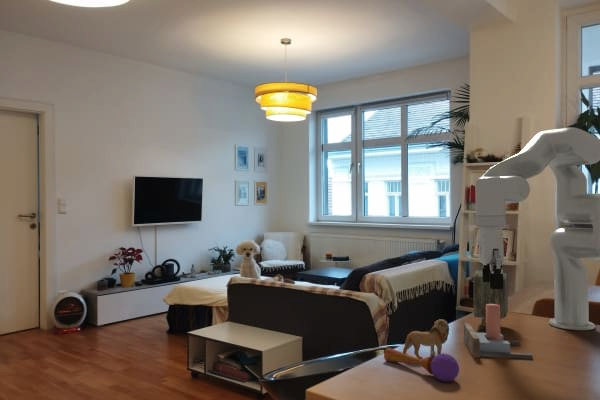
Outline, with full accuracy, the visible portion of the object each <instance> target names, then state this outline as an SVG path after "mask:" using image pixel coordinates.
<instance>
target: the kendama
mask: <svg viewBox="0 0 600 400" xmlns="http://www.w3.org/2000/svg"><path fill="white" fill-rule="evenodd" d="M407 354H408V353H406V354H405V353H403V351H399V350H396V349H393V348H391V347H387V348H385V350H384V352H383V358H384V360H385V361H386V362H392V363H399V364H411V365H420V366H422V368H424V370H425V371H427V372H428V374H429V375H433V377H435V379H437V380H438V381H441V382H445V383H449V382H452V381H454V380H455V379H456V378H457V377H458V376H459V372H460V366H459V363H458V361H457V359H456V358H455V357H453V355H450V354H449V353H443V352H442V353H441V354H439V355H438V354H437V355H436V354H435V355H429V356H428V357H424V358H423V359H418V358H417V357H416V356H412V355H410V354H408V355H407Z"/></svg>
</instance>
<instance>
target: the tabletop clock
mask: <svg viewBox="0 0 600 400" xmlns="http://www.w3.org/2000/svg"><path fill="white" fill-rule="evenodd" d="M482 268H483V265H482V266H481V269H480V270H479V269H477V270H475V272H474V274H473V285H472V286H473V287H472V288H473V290H472V291H473V292H472V293H473V317H474V318H479V319H480V318H481V320H480V321H481V323H480V324H478V325H477V329H478V331H482V330H484V326H483V325H484V324H486V304H497V305H500V320H502V319H504V318H506V317H507V315H508V308H509V307H508V306H509V305H508V303H509V296H508V295H509V294H508V293H509V292H508V288H509V287H508V284H509V283H508V281H509V280H508V274H507V273H505V272H503V289H491V288H490V282H483V272H482ZM493 268H494V267H493ZM501 327H502V325H501V324H500V328H501Z"/></svg>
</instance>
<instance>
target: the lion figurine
mask: <svg viewBox="0 0 600 400" xmlns="http://www.w3.org/2000/svg"><path fill="white" fill-rule="evenodd" d="M449 334H450V326H449V323H448V321H447V320H445V319H440V318H439V319H438V320H436V321H434V325H433V326H432V328H431V329H429V331H418V330H414V331H411V332H410V333H408V334H407V336H406V338H405V342H404V347H403V350H402V353H405V354H407V355H409V354H408V353H407V351H408V350H409V349H410V348H411V347H413V349H414V350H413V354H414V356H415V358H418V359H424V358H423V356H421V355H420V354H419V352H420V348H421V346H424V347H430V350H429V351H430V355H431V356H433V355H434V356H436V354H437V355H439V354H442V349H443V344H445V343H446V342H447V340H448V337H449ZM435 346H436V350H437V352H436V351H435Z"/></svg>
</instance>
